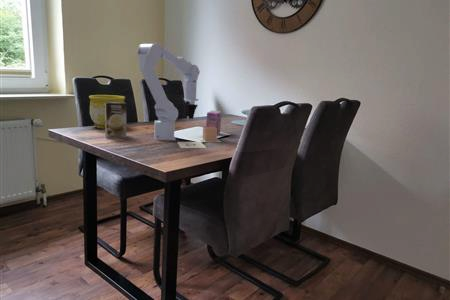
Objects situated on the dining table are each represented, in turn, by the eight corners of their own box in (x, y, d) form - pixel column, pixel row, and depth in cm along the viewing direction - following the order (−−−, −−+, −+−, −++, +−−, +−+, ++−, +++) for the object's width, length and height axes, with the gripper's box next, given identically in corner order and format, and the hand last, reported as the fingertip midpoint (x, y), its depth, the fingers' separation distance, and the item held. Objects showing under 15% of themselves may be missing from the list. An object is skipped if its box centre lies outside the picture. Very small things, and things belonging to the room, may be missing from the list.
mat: (202, 143, 156) (202, 141, 156) (198, 139, 165) (198, 138, 165) (221, 142, 159) (221, 141, 159) (216, 139, 167) (216, 138, 167)
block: (205, 141, 158) (205, 128, 157) (202, 138, 163) (203, 126, 162) (216, 141, 160) (217, 128, 158) (213, 138, 165) (214, 126, 164)
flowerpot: (131, 128, 183) (131, 97, 179) (99, 131, 170) (98, 98, 166) (115, 123, 195) (115, 94, 191) (84, 125, 182) (83, 95, 179)
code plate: (180, 148, 142) (180, 147, 142) (177, 142, 154) (177, 141, 154) (206, 148, 145) (206, 147, 145) (201, 142, 157) (201, 141, 157)
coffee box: (106, 138, 155) (105, 102, 151) (104, 135, 161) (104, 101, 157) (126, 137, 159) (126, 103, 155) (125, 135, 164) (124, 101, 161)
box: (216, 136, 175) (217, 113, 172) (205, 135, 176) (206, 112, 173) (220, 132, 185) (221, 111, 182) (210, 132, 186) (211, 110, 183)
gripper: (201, 91, 160) (200, 119, 163) (195, 89, 173) (194, 115, 177) (186, 90, 158) (185, 119, 161) (182, 88, 172) (181, 115, 175)
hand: (189, 117), depth 169 cm, fingers open, 7 cm apart
